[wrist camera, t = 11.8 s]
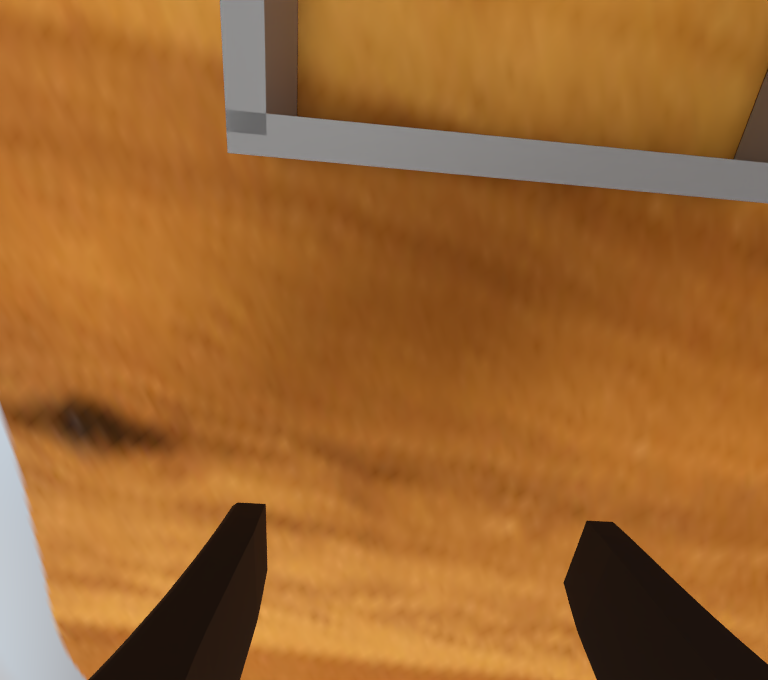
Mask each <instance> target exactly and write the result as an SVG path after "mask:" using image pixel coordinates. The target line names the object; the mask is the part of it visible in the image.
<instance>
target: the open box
mask: <svg viewBox="0 0 768 680" xmlns="http://www.w3.org/2000/svg"><path fill="white" fill-rule="evenodd" d="M220 13H221V32H222V51H223V71H224V90H225V110H226V129H227V148H228V153H235V154H246V155H257V156H267V157H278V158H289V159H299V160H310V161H321V162H332V163H342V164H353V165H364V166H374V167H385V168H396V169H407V170H417V171H428V172H439V173H449V174H460V175H471V176H481V177H492V178H503V179H514V180H524V181H535V182H546V183H556V184H567V185H578V186H589V187H599V188H610V189H621V190H631V191H642V192H653V193H663V194H674V195H685V196H696V197H706V198H717V199H728V200H738V201H749V202H760V203H768V71H767V74H766V77H765V79H764V82H763V84H762V87H761V90H760V92H759V95H758V97H757V100H756V103H755V105H754V108H753V110H752V113H751V116H750V118H749V121H748V124H747V126H746V129H745V131H744V134H743V137H742V139H741V142H740V144H739V147H738V150H737V152H736V155H735V157H734V160H733V159H723V158H713V157H702V156H692V155H682V154H672V153H662V152H652V151H642V150H631V149H621V148H611V147H601V146H591V145H581V144H571V143H560V142H550V141H540V140H530V139H520V138H510V137H500V136H489V135H479V134H469V133H459V132H449V131H439V130H429V129H418V128H408V127H398V126H388V125H378V124H368V123H358V122H347V121H337V120H327V119H317V118H307V117H297V57H298V0H220Z"/></svg>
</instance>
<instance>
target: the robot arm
mask: <svg viewBox="0 0 768 680" xmlns="http://www.w3.org/2000/svg"><path fill="white" fill-rule="evenodd" d="M266 574H267V539H266V504H254V503H236V504H235V505H233V506H232V508H231V509H230V511H229V512H228V514H227V515H226V517H225V518H224V519H223V521H222V522H221V524H220V525H219V527H218V528H217V529H216V531H215V532H214V534H213V535H212V536H211V538H210V539H209V541H208V542H207V543H206V545H205V546H204V547H203V549H202V550H201V551H200V552H199V554H198V555H197V556H196V558H195V559H194V560H193V562H192V563H191V564H190V565H189V567H188V568H187V569H186V570H185V572H184V573H183V574H182V575H181V577H180V578H179V579H178V580H177V582H176V583H175V584H174V585H173V587H172V588H171V589H170V590H169V592H168V593H167V594H166V595H165V596H164V598H163V599H162V600H161V601H160V602H159V603H158V604H157V606H156V607H155V608H154V609H153V610H152V611H151V612H150V614H149V615H148V616H147V617H146V618H145V619H144V620H143V622H142V623H141V624H140V625H139V626H138V627H137V628H136V630H135V631H134V632H133V633H132V634H131V635H130V636H129V638H128V639H127V640H126V641H125V642H124V643H123V644H122V645H121V646H120V647H119V648H118V649H117V650H116V652H115V653H114V654H113V655H112V656H111V657H110V658H109V659H108V660H107V661H106V662H105V663H104V664H103V665H102V666H101V667H100V668H99V670H98V671H97V672H96V673H95V674H94V675H93V676H92V677H91V678H90V679H89V680H240V678H241V674H242V671H243V668H244V664H245V661H246V657H247V654H248V651H249V647H250V644H251V640H252V637H253V634H254V630H255V627H256V623H257V620H258V615H259V610H260V605H261V600H262V595H263V590H264V584H265V579H266ZM564 586H565V589H566V593H567V597H568V600H569V604H570V608H571V611H572V615H573V618H574V621H575V625H576V628H577V631H578V634H579V637H580V639H581V642H582V644H583V647H584V649H585V652H586V654H587V657H588V659H589V661H590V664H591V666H592V669H593V671H594V674H595V676H596V679H597V680H768V664H767V663H765V662H764V661H763V660H762V659H761V658H760V657H759V656H757V655H756V654H755V653H754V652H753V651H752V650H750V649H749V648H748V647H747V646H746V645H745V644H743V643H742V642H741V641H740V640H739V639H738V638H737V637H735V636H734V635H733V634H732V633H731V632H730V631H729V630H728V629H727V628H725V627H724V626H723V625H722V624H721V623H720V622H719V621H718V620H717V619H715V618H714V617H713V616H712V615H711V614H710V613H709V612H708V611H707V610H706V609H705V608H703V607H702V606H701V605H700V604H699V603H698V602H697V601H696V600H695V599H694V598H693V597H692V596H691V595H689V594H688V593H687V592H686V591H685V590H684V589H683V588H682V587H681V586H680V585H679V584H678V583H677V582H676V581H675V580H674V579H673V578H672V577H670V576H669V575H668V574H667V573H666V572H665V571H664V570H663V569H662V568H661V567H660V566H659V565H658V564H657V563H656V562H655V561H654V560H653V559H652V558H651V557H650V556H649V555H648V554H647V553H645V552H644V551H643V550H642V549H641V548H640V547H639V546H638V545H637V544H636V543H635V542H634V541H633V540H632V539H631V538H630V537H629V536H628V535H627V534H625V533H624V532H623V531H622V530H621V529H620V528H619V527H618V526H617V525H616V524H615V523H613V522H602V521H586V524H585V527H584V529H583V532H582V535H581V537H580V540H579V543H578V546H577V548H576V551H575V554H574V556H573V559H572V562H571V564H570V567H569V570H568V572H567V575H566V578H565V580H564Z"/></svg>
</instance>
